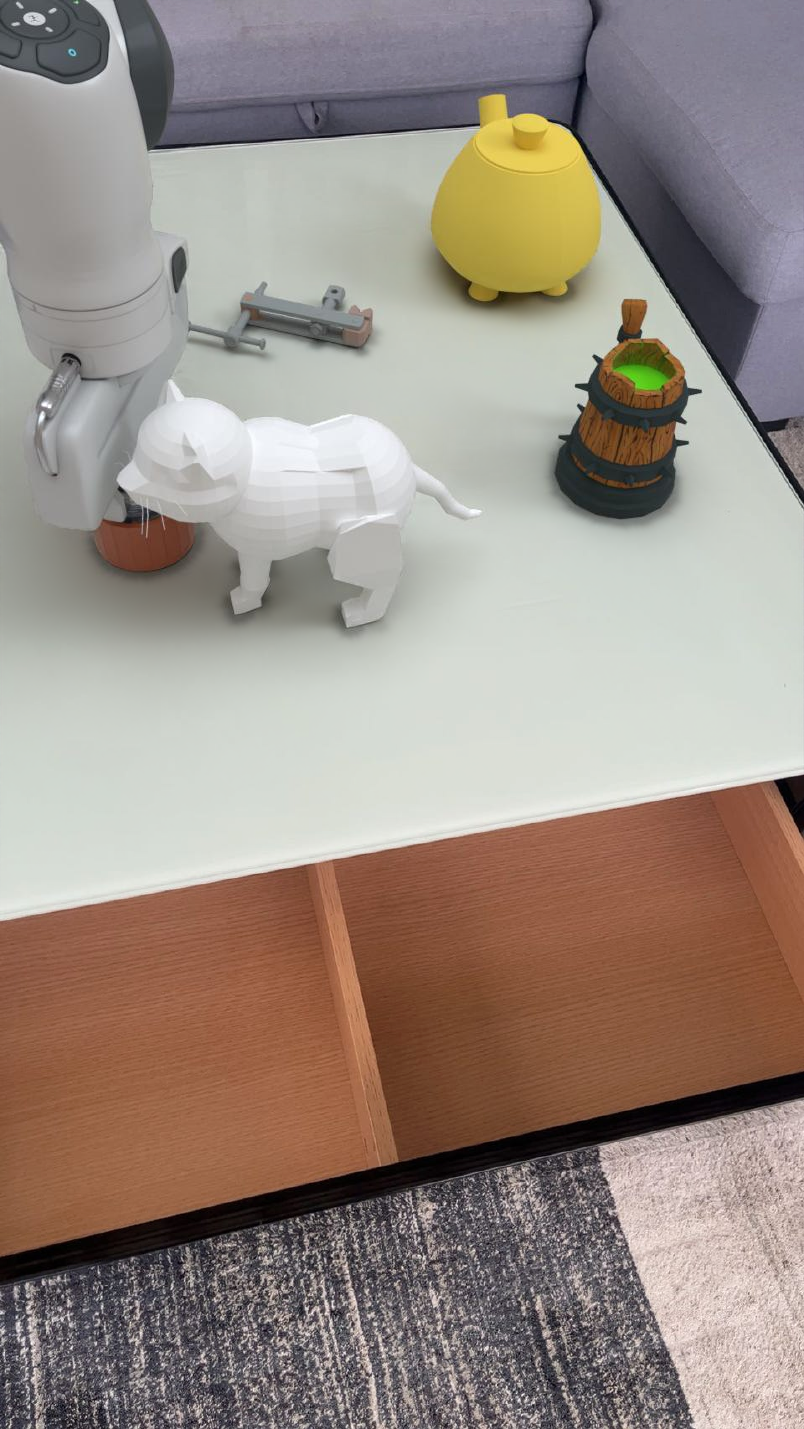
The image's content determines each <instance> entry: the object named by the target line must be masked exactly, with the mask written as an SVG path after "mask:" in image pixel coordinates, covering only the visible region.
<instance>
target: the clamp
mask: <svg viewBox="0 0 804 1429" xmlns="http://www.w3.org/2000/svg"><path fill="white" fill-rule="evenodd" d="M267 287H268V283H267V282H266V281H261V283H260V285H259V287H257V288H256V289H255V290H254V292H248V291H245V293H243V295H242V296H241V298H240V300H239V305H240V316H239V317H238V318H237V320H236V322H235V324H234V325H231V326H229V328H228V329H227V331H224V330H218V329H214V328H210V327H205V326H201V325H197V324H193V323H192V322H191V321H190V320H189V329H188V333H190V331H191V332H195V333H200V334H204V335H209V336H212V337H218V338H222V339H223V342H224V344H225V345H226V346H228V347H229V348H236V347H237V346H238V345H239V343H243V344H247V345H252V346H255V347H259V350H261V351H263V350H265V348H266V346H267V340H266V338H264V337H262V338H261V339H258V338H253V337H249V336H244V333H243V330H244V329H245V327H246V325H252V326H255V327H260V328H265V329H270V330H273V331H279V332H284V333H288V334H293V335H298V336H303V337H306V338H307V337H308V338H313V339H315V340H316V339H317V340H321V341H326V342H331V343H335V344H340V345H345V346H349V347H355V348H360V347H361V346H362V345H364V344H365V343H366V340H367V339H368V337H370V335H371V333H372V332H373V320H374V318H373V317H374V315H373V314H374V311H373V309H372V308H371V307H369V308H365V309H362V311H361V309H360V308H359V307H358V306H357V305H356V304H353V305H351V306H350V308H349V309H348V312H344V311H339V309H340V306H341V305H342V303H343V300H344V299H345V297H346V290H345V288H344V287H342V286H341V285H340V286H339V285H334V284H329V285H328V287H327V289H326V291H325V293H324V295H323V297H322V299H321V302H322V303H321V304H322V306H321V307H320V306H316V305H311V304H306V303H301V302H297V301H293V300H287V299H283V298H277V297H272V296H268V295H264V293H265V291H266V288H267Z"/></svg>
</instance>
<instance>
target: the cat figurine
mask: <svg viewBox="0 0 804 1429" xmlns="http://www.w3.org/2000/svg"><path fill="white" fill-rule="evenodd" d="M128 443H130V442H128ZM132 444H133V443H132ZM133 447H134V445H133ZM134 450H135V451H134V454H133V458H132V461H131V460H130V461H131V462H130V463H129V464H128V465H127V466H126V467H125V466H124V465H123V466H124V467H125V468H124V469H123V470H122V471H121V472H120V473H119V474H118V477H117V482H118V483H119V485H120V486H121V487H122V488H123V489H124V490H125V491H126V492H127V493H128V495H129V496H130V498H131V499H132V500H133V501H134V502H135V503H136V504H139V505H141V506H143V507H146V508H147V511H148V509H150V510H153V511H155V512H158V513H160V514H161V516H162V515H165V516H167V517H170V518H172V519H175V520H177V521H180V522H182V521H183V522H191V523H195V524H198V523H199V524H200V523H209V524H210V526H211V527H212V529H213V530H214V531H215V533H216V535H217V536H219V537H220V538H221V539H222V540H223V541H224V542H225V544H227V545H229V546H230V548H232V549H233V550H235V551H237V552H236V553H237V558H238V563H239V564H238V565H239V569H240V576H239V582H240V586H237V587H236V588H234V589H232V590H231V591H229V594H230V602H231V605H232V606H231V607H232V610H233V613H234V616H236V615H242V614H245V613H248V612H250V611H253V610H256V609H259V608H260V607H262V597H263V595H264V594H265V592H266V590H267V589H268V587H269V585H270V583H271V576H270V572H271V567H272V562H273V561H281V560H283V561H284V560H285V559H288V558H290V557H293V556H297V555H299V554H301V553H304V552H307V551H308V550H313V549H314V548H318V549H323V550H328V551H329V552H328V555H327V557H326V559H327V563H328V565H329V568H330V571H331V574H332V576H333V580H337V581H339V582H342V583H347V584H350V585H355V586H358V587H361V588H362V590H361V592H360V595H359V597H357V596H356V597H350V598H349V599H347V600H344V601H343V602H341V614H342V615H341V616H342V618H343V621H344V625H345V627H346V628H352V627H357V626H358V627H359V626H361V625H364V624H368V623H371V622H375V621H378V620H380V619H381V618H382V617H384V616H385V614H386V612H387V609H388V607H389V605H390V602H391V600H392V598H393V596H394V594H395V591H396V589H397V587H398V584H399V581H400V577H401V576H402V573H403V569H404V558H403V548H402V547H403V546H402V538H401V531H402V529H403V528H404V526H405V524H406V523H407V521H408V519H409V518H410V516H411V513H412V510H413V508H414V503H415V500H416V494H417V492H418V493H420V494H423V495H426V496H429V497H431V498H434V499H435V501H437V503H438V504H439V506H440V507H441V508H442V510H443V511H444V512H445V513H446V514H447V515H450V516H452V517H455V518H456V519H457V518H458V519H460V520H461V521H462V520H463V521H468V520H471V519H475V518H478V517H479V516H480V515H481V514H482V513H483V512H482V510H481V509H476V508H468V507H466V506H465V505H463V504H462V503H460V502H459V501H457V500H456V499H455V498H454V497H453V496H452V494H451V493H450V491H449V489H448V488H447V487H446V486H445V484H444V483H443V482H441V481H440V480H438V479H436V478H435V477H434V476H432V475H431V474H429V473H428V472H427V471H425V470H423V469H422V468H421V467H419V466H418V465H417V464H415V463H414V462H413V461H412V458H411V455H410V454H409V452H408V450H407V448H406V446H405V444H403V442H402V441H401V439H400V438H399V437H398V436H397V435H396V434H395V433H394V432H393V431H392V430H391V429H390V428H388V427H387V426H386V425H384V424H383V423H381V422H379V421H377V420H376V419H374V418H370V417H367V416H365V415H359V414H351V413H345V414H343V415H342V414H341V415H338V416H336V417H333V418H329V419H326V420H323V421H319V422H317V423H313V424H310V425H306V424H302V423H299V422H295V421H292V420H288V419H285V418H282V417H278V416H259V417H253V418H249V419H247V420H243V421H242V420H241V418H239V416H237V415H236V413H234V412H233V411H232V410H230V409H229V408H228V407H226V406H225V405H223V404H220V403H219V402H218V401H214V400H212V399H209V398H203V397H193V396H191V397H190V396H189V397H185V396H184V394H183V392H182V391H181V390H180V388H179V387H178V385H177V384H176V383H175V381H174V380H173V379H172V378H171V379H170V380H168V381H167V382H165V383H164V384H163V387H162V390H161V394H160V397H159V400H158V403H157V406H156V409H155V410H154V411H152V412H151V413H150V414H149V415H148V416H147V417H146V418H145V419H144V421H143V422H142V424H141V426H140V429H139V433H138V439H137V446H136V449H135V448H134ZM124 452H126V451H124ZM127 453H128V452H127ZM128 456H129V454H128ZM129 459H130V457H129ZM119 463H120V462H119ZM115 464H116V463H115ZM120 464H121V463H120ZM121 465H122V464H121ZM143 507H142V510H143ZM162 520H163V518H162ZM163 525H164V523H163ZM147 528H148V520H147ZM142 530H143V516H142ZM164 530H165V527H164ZM146 538H147V535H146Z"/></svg>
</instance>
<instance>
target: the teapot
mask: <svg viewBox="0 0 804 1429" xmlns="http://www.w3.org/2000/svg"><path fill="white" fill-rule="evenodd" d="M477 102H478V111H479V112H478V113H479V126H480V128H479V129H478V131H477V132H476V133H474V135H472V137H471V138H470V139H469V140H468V141H467V143H466V144H465V145H464V147H462V149H461V150H460V152H459V153H458V154H457V156H456V157H455V159H453V161H452V162H451V164H450V166H449V167H448V169H447V170H446V172H445V174H444V176H443V178H442V180H441V182H440V185H439V187H438V190H437V193H436V195H435V199H434V202H433V206H432V210H431V214H430V215H431V217H430V232H431V235H432V239H433V242H434V244H435V247H436V248H437V249H438V251H439V253H440V254H441V256H442V257H443V258H444V259H445V260H446V262H447V263H448V264H449V265H450V266H451V268H452V269H454V270H455V272H456V273H458V275H460V276H461V277H463V278H464V279H466V280H467V281H470V282H471V284H470V286H469V288H468V294H469V296H470V297H471V298H472V299H474V300H476V301H480V302H490V301H493V300H495V299H496V298H497V297H498V296H499V291H500V292H507V293H518V294H519V293H520V294H521V293H534V292H541V293H543V294H544V295H547V296H551V297H559V296H562V295H564V294H566V292H567V291H568V286H567V283H566V281H568V280H570V279H572V278H573V277H575V275H578V274H579V273H580V272H581V271H582V270H583V269H584V268H586V267H587V266H588V265H589V263H590V262H591V261H592V260H593V259H594V257H595V255H596V254H597V251H598V248H599V245H600V240H601V233H602V207H601V202H600V196H599V190H598V187H597V184H596V180H595V178H594V175H593V172H592V170H591V167H590V165H589V162H588V160H587V157H586V154H585V153H584V151H583V149H582V147H581V145H580V143H579V142H578V140H577V139H576V137H575V136H574V135H573V134H572V133H570V132H569V131H568V130H566V129H565V128H563V127H561V126H559V125H557V124H555V123H552V122H549V121H548V119H546V118H545V117H543V116H542V115H539V114H535V113H521V114H517V115H514V117H508V107H507V100H506V95H505V94H502V93H497V94H496V93H495V94H489V95H484V96H482V97H480V98H479V99H478V100H477Z"/></svg>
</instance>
